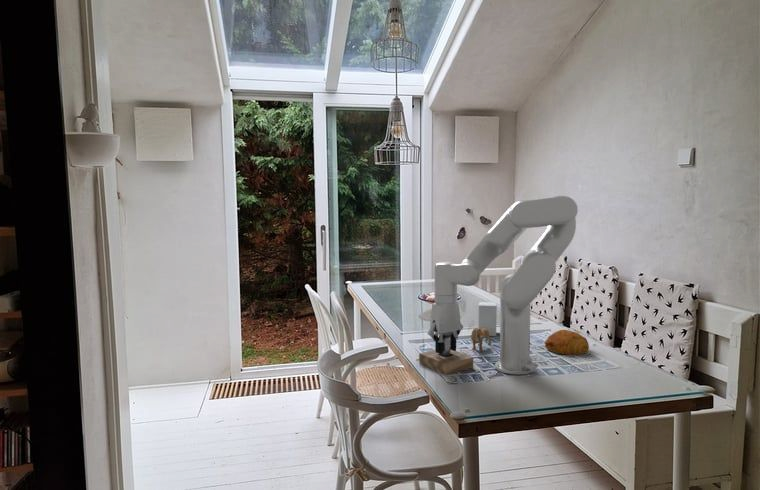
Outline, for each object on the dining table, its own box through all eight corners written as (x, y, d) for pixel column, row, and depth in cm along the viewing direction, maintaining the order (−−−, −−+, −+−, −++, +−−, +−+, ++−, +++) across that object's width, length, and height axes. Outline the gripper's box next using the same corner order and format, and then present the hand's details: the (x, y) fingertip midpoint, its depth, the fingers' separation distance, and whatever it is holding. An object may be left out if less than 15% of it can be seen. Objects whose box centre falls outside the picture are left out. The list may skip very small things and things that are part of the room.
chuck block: (473, 367, 172) (473, 356, 172) (446, 374, 166) (446, 363, 165) (445, 356, 184) (445, 346, 184) (419, 363, 177) (419, 352, 177)
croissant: (567, 347, 200) (566, 327, 200) (596, 353, 185) (595, 331, 186) (536, 351, 195) (535, 330, 195) (564, 357, 180) (562, 334, 181)
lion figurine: (483, 354, 186) (483, 329, 185) (468, 352, 189) (468, 328, 188) (492, 343, 199) (492, 320, 199) (479, 341, 202) (479, 319, 201)
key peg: (454, 365, 174) (454, 331, 173) (445, 367, 172) (445, 332, 171) (446, 362, 178) (446, 328, 176) (437, 364, 175) (437, 330, 174)
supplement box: (496, 336, 209) (496, 305, 208) (477, 335, 211) (478, 305, 209) (496, 331, 216) (496, 302, 215) (478, 330, 218) (478, 301, 217)
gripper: (457, 294, 180) (457, 344, 182) (418, 300, 171) (419, 353, 173) (472, 297, 174) (472, 349, 176) (433, 304, 165) (433, 359, 166)
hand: (445, 351), depth 174 cm, fingers open, 5 cm apart
